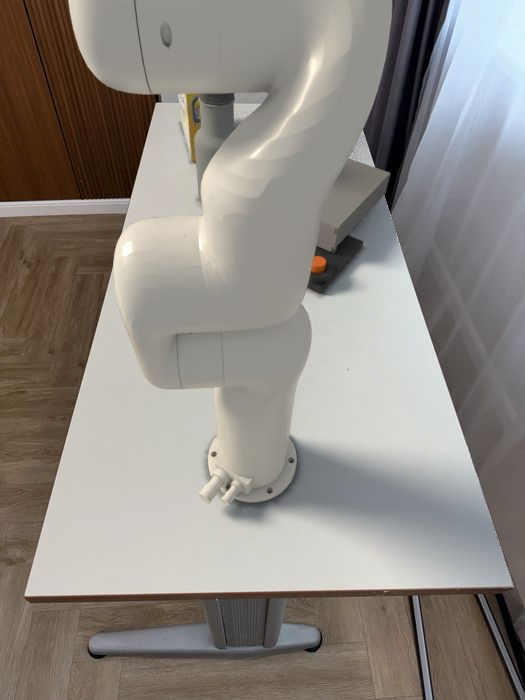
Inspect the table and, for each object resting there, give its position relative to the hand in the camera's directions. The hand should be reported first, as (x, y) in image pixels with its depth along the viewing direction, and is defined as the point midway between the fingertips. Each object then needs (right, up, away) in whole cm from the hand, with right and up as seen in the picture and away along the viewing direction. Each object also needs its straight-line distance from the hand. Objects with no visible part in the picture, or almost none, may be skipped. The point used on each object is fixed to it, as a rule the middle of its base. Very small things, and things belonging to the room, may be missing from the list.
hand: (233, 40), depth 67 cm
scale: (+13, -22, +34) cm, 43 cm away
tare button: (+14, -26, +28) cm, 41 cm away
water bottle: (-6, -7, +46) cm, 47 cm away
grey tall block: (+12, -18, +32) cm, 38 cm away
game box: (-13, +12, +62) cm, 65 cm away
